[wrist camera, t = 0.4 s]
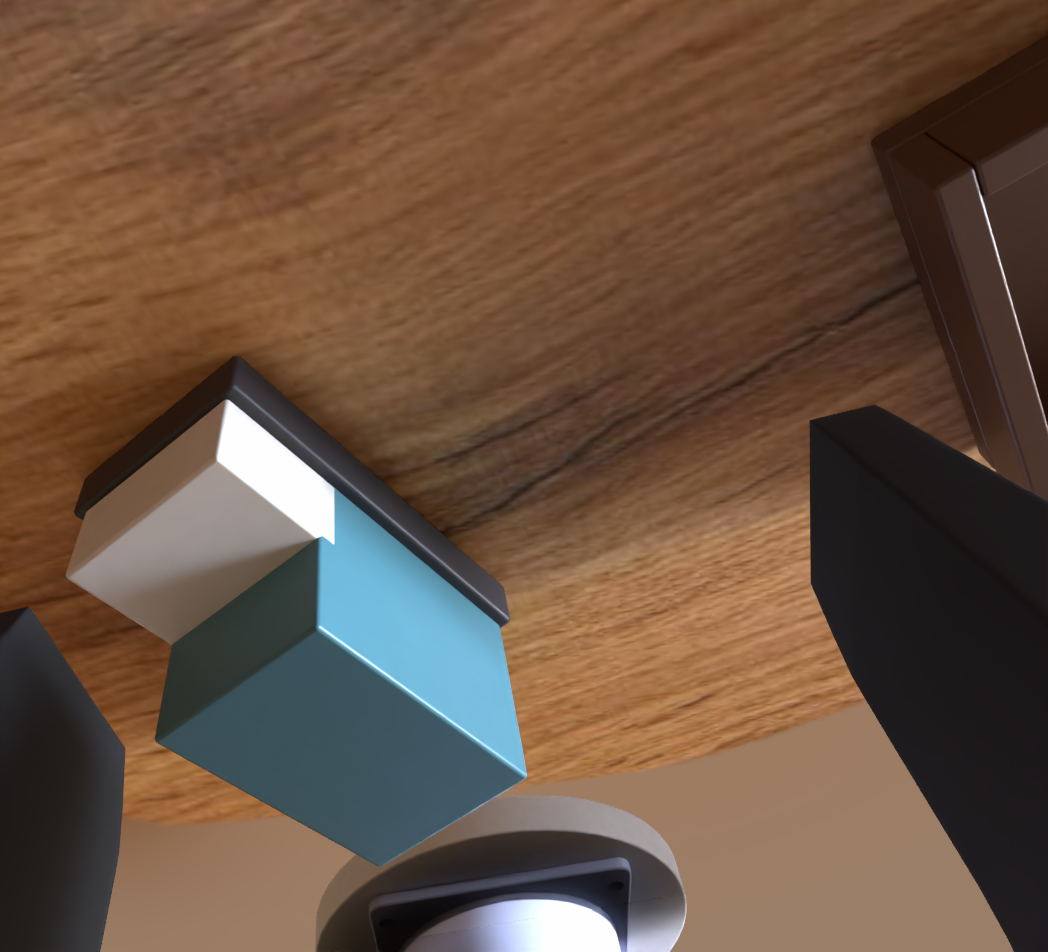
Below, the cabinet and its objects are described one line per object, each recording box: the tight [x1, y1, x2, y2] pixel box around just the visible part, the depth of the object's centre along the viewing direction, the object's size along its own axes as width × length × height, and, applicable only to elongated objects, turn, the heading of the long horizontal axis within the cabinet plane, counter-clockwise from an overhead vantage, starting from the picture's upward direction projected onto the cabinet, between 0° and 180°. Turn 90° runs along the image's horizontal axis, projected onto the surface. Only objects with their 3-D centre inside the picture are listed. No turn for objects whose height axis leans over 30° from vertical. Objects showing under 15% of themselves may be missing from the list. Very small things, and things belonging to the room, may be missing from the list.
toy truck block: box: [66, 356, 527, 866], centre depth 16 cm, size 7×4×4 cm, turn 37°
